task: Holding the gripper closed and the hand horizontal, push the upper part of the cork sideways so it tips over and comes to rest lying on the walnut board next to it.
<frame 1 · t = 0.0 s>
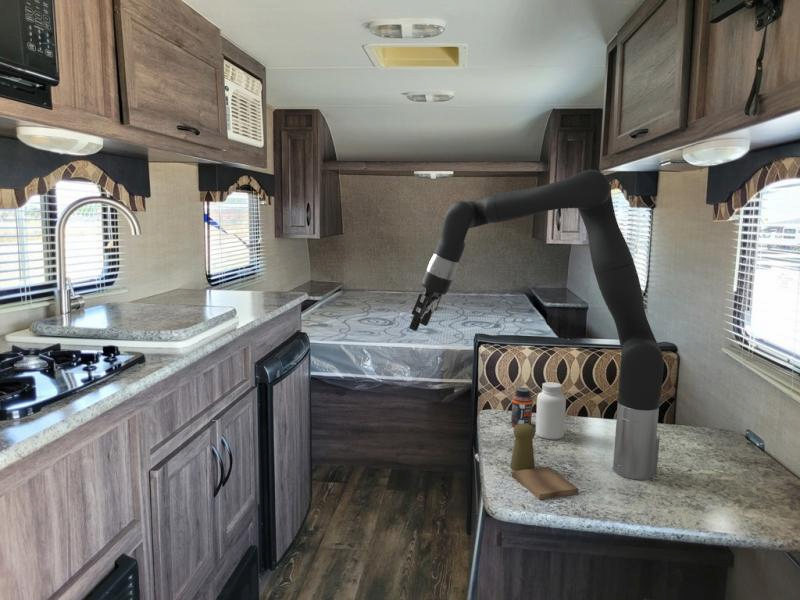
hand: (418, 327, 156), 31 cm above the table, tool tilted 20°, fingers open, 8 cm apart
supplement bottle: (521, 426, 171), on the table
pill bottle: (549, 435, 164), on the table
walnut board: (543, 484, 133), on the table
cork: (522, 468, 142), on the table
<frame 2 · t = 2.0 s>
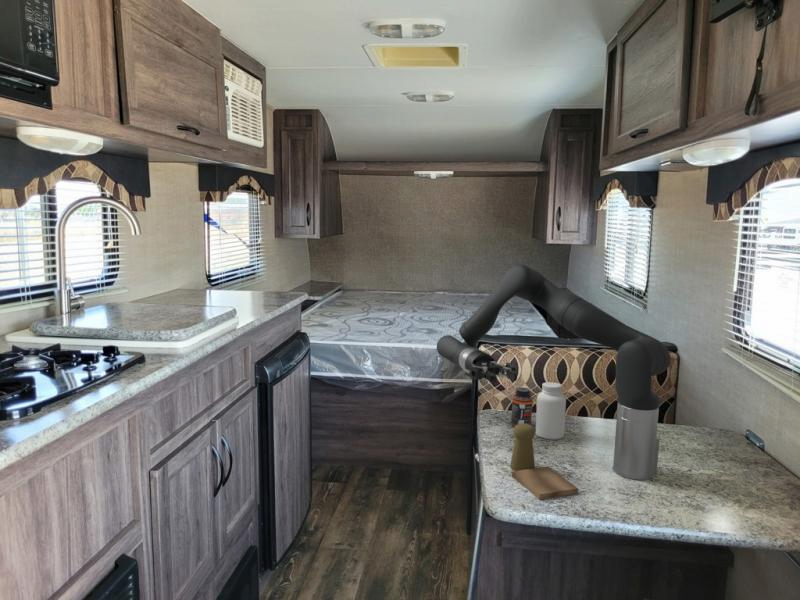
hand: (505, 378, 149), 20 cm above the table, tool horizontal, fingers open, 5 cm apart
nothing on the table moved.
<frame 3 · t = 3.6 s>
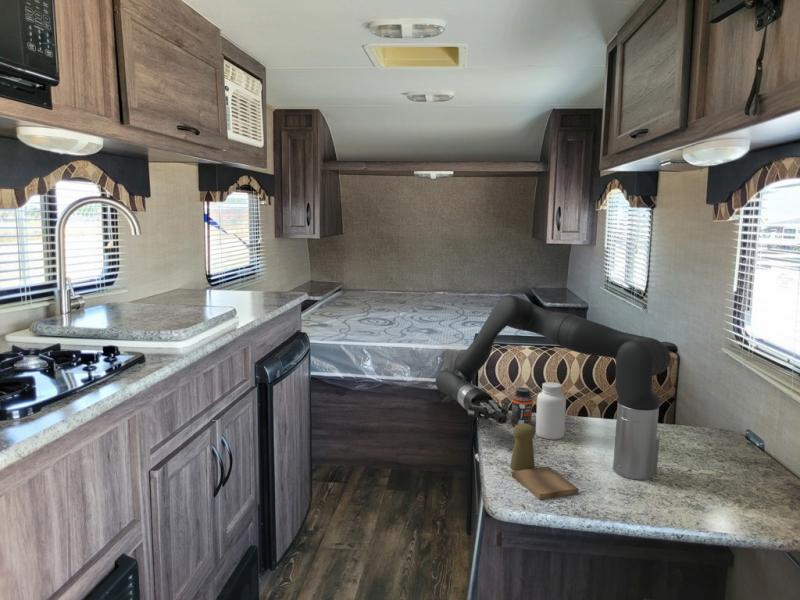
hand: (503, 420, 150), 9 cm above the table, tool horizontal, fingers closed
nothing on the table moved.
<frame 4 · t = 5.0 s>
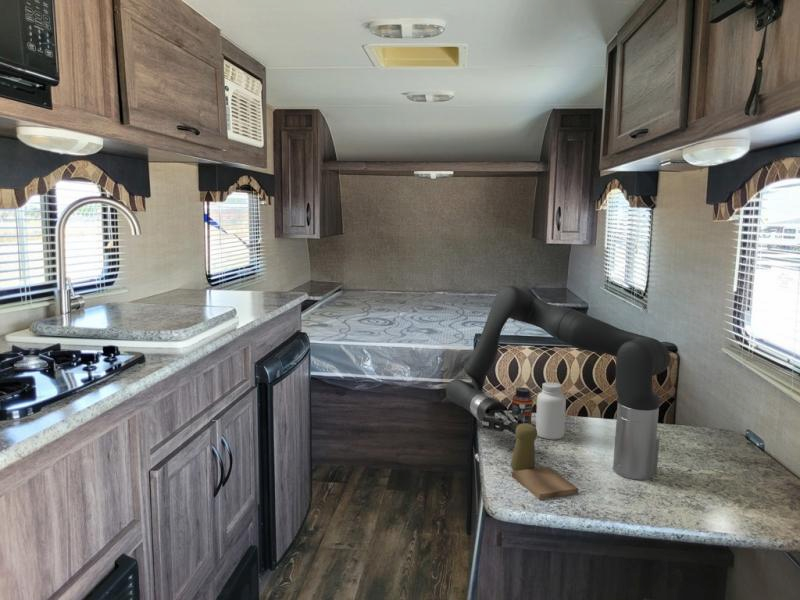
hand: (520, 432, 142), 9 cm above the table, tool horizontal, fingers closed
cork: (522, 467, 142), on the table, touching gripper
everything else where it was.
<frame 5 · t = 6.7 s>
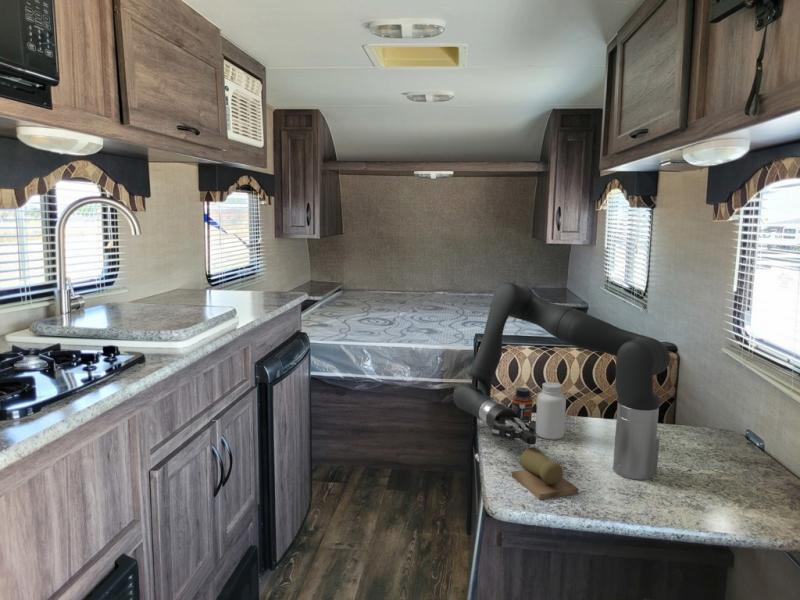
hand: (532, 440, 137), 8 cm above the table, tool horizontal, fingers closed
cork: (531, 459, 139), point 3 cm above the table, touching walnut board
everything else where it was.
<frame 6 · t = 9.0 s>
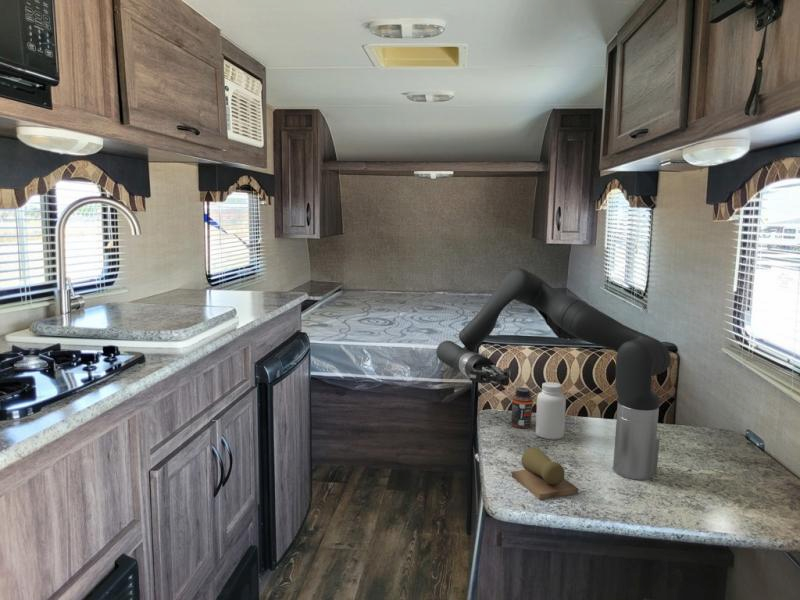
hand: (506, 382, 148), 19 cm above the table, tool horizontal, fingers closed
nothing on the table moved.
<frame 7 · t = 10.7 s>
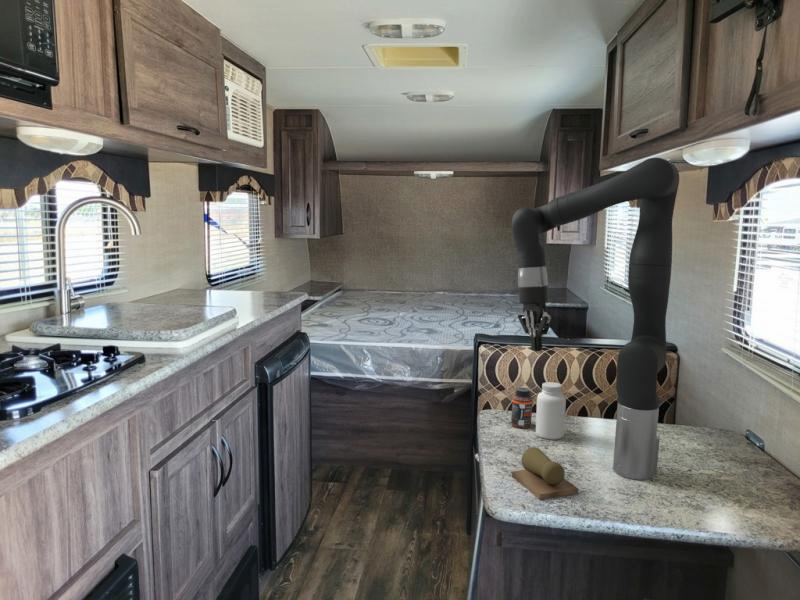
hand: (537, 350, 150), 27 cm above the table, tool pointing down, fingers closed
nothing on the table moved.
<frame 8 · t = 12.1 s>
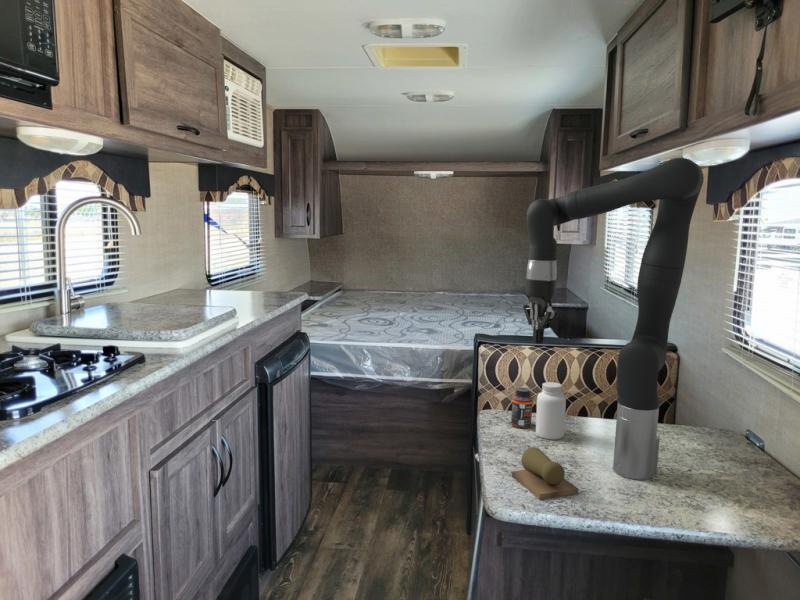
hand: (537, 343, 150), 29 cm above the table, tool pointing down, fingers closed
nothing on the table moved.
at the end: cork tilted 86°; cork inside the target area (4.6 cm from its centre), point 3.1 cm above the table; the gripper is holding nothing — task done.
